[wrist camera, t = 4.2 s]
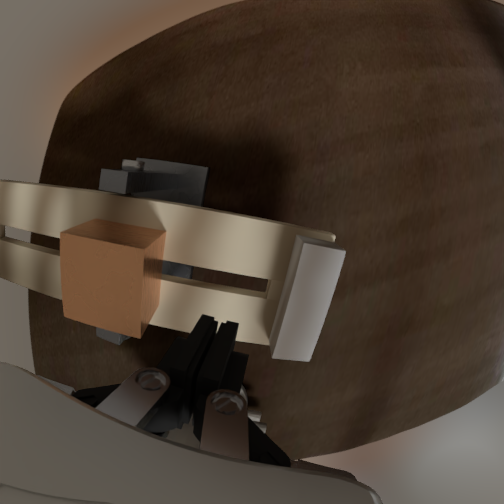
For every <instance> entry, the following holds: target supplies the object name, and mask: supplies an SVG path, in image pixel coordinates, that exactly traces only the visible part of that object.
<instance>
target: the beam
mask: <svg viewBox="0 0 504 504" xmlns="http://www.w3.org/2000/svg"><path fill="white" fill-rule="evenodd" d="M93 219H101V220H107V221H112V222H118V223H124V224H129V225H135V226H140V227H146V228H151V229H157V230H163V231H166V239H165V247H164V256H163V260H166V261H171V262H176V263H181V264H187V265H192V266H197V267H203V268H208V269H214V270H219V271H225V272H230V273H236V274H241V275H247V276H253V277H259V278H264V279H269V280H268V284H267V289H266V293H265V292H259V291H253V290H247V289H241V288H236V287H230V286H224V285H219V284H213V283H208V282H202V281H197V280H192V279H186V278H181V277H176V276H171V275H166V274H162V276H161V287H160V300H159V306H158V308H157V310H156V311H155V313H154V315H153V317H152V319H151V321H150V322H149V324H151V325H156V326H160V327H165V328H170V329H174V330H179V331H184V332H189V333H191V332H192V330H193V328H194V327H195V325H196V323H197V322H198V320H199V318H200V317H201V315H202V314H204V315H208V316H212V317H214V320H215V321H218V327H217V331H218V329H219V327H220V325H221V323H222V322H223V323H226V321H227V320H228V321H232V322H236V323H239V327H238V331H237V336H236V341H242V342H249V343H256V344H264V345H270V350H271V355H272V358H276V359H286V360H297V361H310V359H311V356H312V353H313V351H314V348H315V345H316V343H317V340H318V337H319V334H320V332H321V329H322V326H323V323H324V320H325V317H326V314H327V311H328V308H329V305H330V302H331V299H332V296H333V293H334V290H335V287H336V284H337V280H338V277H339V274H340V270H341V267H342V264H343V260H344V257H345V253H346V251H345V250H344V249H342V248H341V247H340V246H338V245H337V244H336V243H334V241H335V237H336V236H335V235H334V234H332V233H331V232H326V231H322V230H317V229H312V228H308V227H303V226H298V225H293V224H289V223H284V222H279V221H274V220H269V219H264V218H259V217H254V216H248V215H243V214H238V213H233V212H227V211H222V210H216V209H211V208H205V207H199V206H194V205H188V204H182V203H176V202H170V201H164V200H158V199H151V198H145V197H139V196H132V195H125V194H118V193H111V192H104V191H97V190H90V189H82V188H74V187H66V186H58V185H49V184H40V183H30V182H21V181H11V180H0V277H1V278H3V279H6V280H8V281H10V282H13V283H16V284H18V285H21V286H23V287H26V288H29V289H32V290H34V291H37V292H40V293H43V294H46V295H49V296H51V297H54V298H57V299H61V300H62V289H61V272H60V251H59V250H55V249H51V248H47V247H43V246H39V245H35V244H31V243H27V242H24V241H20V240H16V239H12V238H9V237H5V226H9V227H13V228H18V229H22V230H26V231H30V232H34V233H39V234H43V235H47V236H52V237H56V238H60V232H62V231H64V230H67V229H69V228H72V227H74V226H77V225H80V224H82V223H85V222H87V221H90V220H93Z"/></svg>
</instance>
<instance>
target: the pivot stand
mask: <svg viewBox="0 0 504 504" xmlns="http://www.w3.org/2000/svg"><path fill="white" fill-rule="evenodd" d="M209 171H210V168H208V167H202V166H196V165H189V164H183V163H176V162H169V161H161V160H153V159H145V158H137V159H136V161H134V160H125V159H123V160H122V166H121V169H101V175H100V183H99V190H105V191H111V192H117V193H122V194H129V193H131V195H132V196H139V197H145V198H151V199H158V200H164V201H170V202H176V203H182V204H188V205H194V206H199V207H203V203H204V197H205V192H206V186H207V181H208V176H209ZM192 273H193V266H192V265H187V264H181V263H176V262H171V261H166V260H163V266H162V274H166V275H171V276H176V277H181V278H186V279H192ZM96 333H97V336H98V337H101V338H103V339H105V340H108V341H110V342H112V343H115V344H117V345H120V344H121V343H122V342H123V341H124V340H127V339H129V338H130V337H131V336H127V335H123V334H120V333H116V332H112V331H109V330H105V329H102V328H98V327H96Z"/></svg>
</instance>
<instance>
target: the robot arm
mask: <svg viewBox="0 0 504 504" xmlns="http://www.w3.org/2000/svg"><path fill="white" fill-rule="evenodd" d="M217 327H218V321H215V320H214V317H212V316H208V315H204V314H202V315H201V317H200V318H199V320H198V322H197V323H196V325H195V327H194V328H193V330H192V332H191V333H190V335H189V336H188V338H183V337H180V336H178V337H177V338H176V339H175V341H174V342H173V344H172V345H171V347H170V348H169V350H168V351H167V353H166V354H165V356H164V357H163V359H162V360H161V362H160V363H159V364H158V366H157V368H153V367H144V368H140V369H138V370H136V371H135V372H134V373H133V374H132V375H131V376H130V377H128V378H127V379H126V380H125V381H124V382H123V383H122V384H116V385H109V386H103V387H96V388H89V389H82V390H78V391H77V392H76V391H74V388H72V387H69V386H66V385H63V384H60V383H57V382H54V381H52V380H49V379H46V378H44V377H41V376H39V375H35V374H33V373H31V372H29V371H27V370H25V369H23V368H20V367H18V366H15V365H12V364H8V363H4V362H0V504H383V502H382V500H381V498H380V496H379V495H378V494H377V493H376V491H375V490H373V489H372V488H371V487H369V486H367V485H365V484H363V483H361V482H359V481H357V480H356V478H355V476H354V475H352V474H351V473H349V472H347V471H344V470H339V469H334V468H330V467H325V466H322V465H318V464H314V463H310V462H307V461H303V460H300V459H298V461H294V460H291V459H289V457H288V456H287V455H286V453H285V452H284V451H282V450H281V449H280V448H279V447H278V446H277V445H276V444H275V443H274V442H273V441H272V440H271V439H270V438H269V437H268V436H267V435H266V434H265V431H266V426H267V424H266V423H262V422H259V421H260V418H261V412H259V411H254V410H248V405H247V404H248V397H247V393H246V390H245V388H244V386H243V385H242V382H243V378H244V374H245V369H246V365H247V361H248V356H249V355H247V354H243V353H239V352H235V351H233V350H234V345H235V341H236V336H237V331H238V327H239V323H236V322H232V321H228V320H227V321H226V323H223V322H222V323H221V325H220V327H219V329H218V331H217ZM252 420H253V421H252ZM257 421H258V422H257Z"/></svg>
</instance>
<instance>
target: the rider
mask: <svg viewBox="0 0 504 504" xmlns="http://www.w3.org/2000/svg"><path fill="white" fill-rule="evenodd" d="M165 239H166V231H163V230H157V229H151V228H146V227H140V226H135V225H129V224H124V223H118V222H112V221H107V220H101V219H93V220H90V221H87V222H85V223H82V224H80V225H77V226H74V227H72V228H69V229H67V230H64V231H62V232H60V272H61V289H62V301H63V311H64V317H67V318H70V319H73V320H76V321H79V322H82V323H85V324H89V325H92V326H95V327H98V328H102V329H105V330H109V331H112V332H116V333H120V334H123V335H127V336H131V337H135V338H139V339H141V337H142V335H143V333H144V332H145V330H146V328H147V326H148V324H149V322H150V321H151V319H152V317H153V315H154V313H155V311H156V310H157V308H158V306H159V300H160V287H161V276H162V266H163V256H164V247H165Z"/></svg>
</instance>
